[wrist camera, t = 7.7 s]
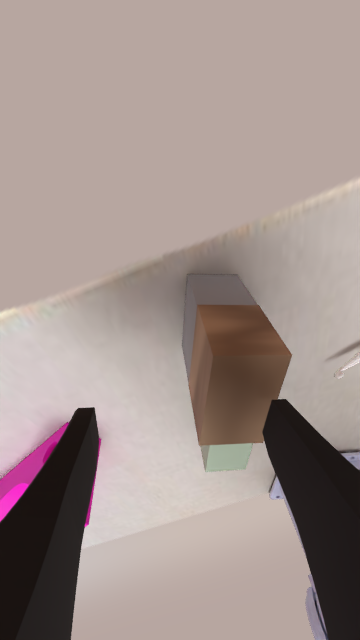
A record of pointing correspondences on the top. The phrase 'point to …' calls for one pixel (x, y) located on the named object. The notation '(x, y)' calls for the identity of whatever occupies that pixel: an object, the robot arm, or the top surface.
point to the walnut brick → (234, 373)
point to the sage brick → (226, 457)
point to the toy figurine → (347, 366)
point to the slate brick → (209, 302)
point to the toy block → (30, 474)
